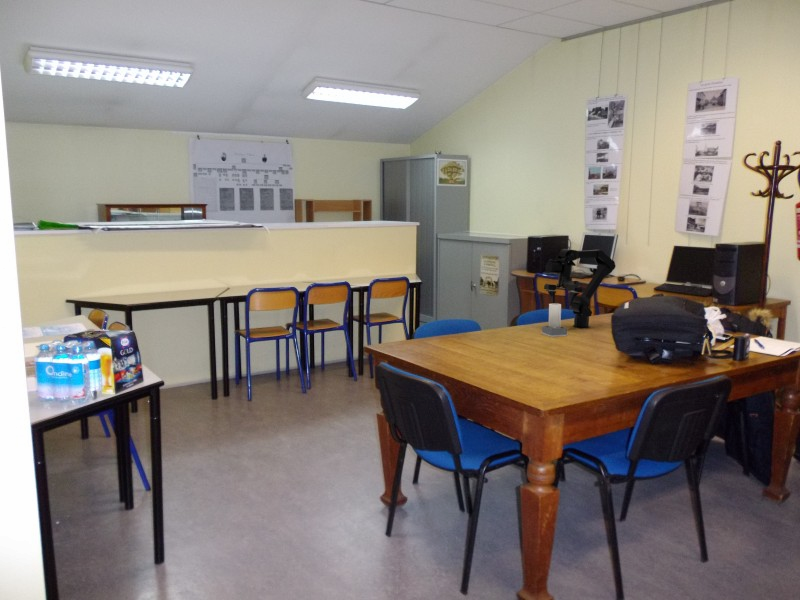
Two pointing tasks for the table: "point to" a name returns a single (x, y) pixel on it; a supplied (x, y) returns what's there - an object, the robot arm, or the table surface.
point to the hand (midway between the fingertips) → (561, 305)
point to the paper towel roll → (554, 316)
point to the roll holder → (554, 331)
